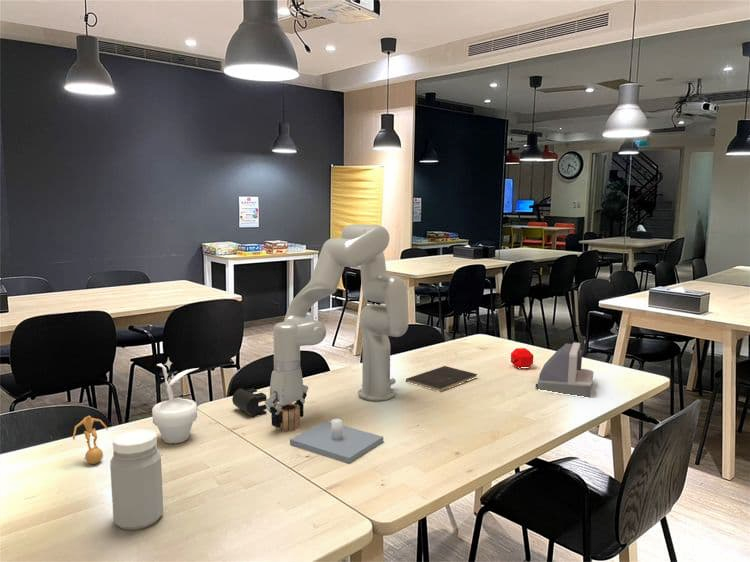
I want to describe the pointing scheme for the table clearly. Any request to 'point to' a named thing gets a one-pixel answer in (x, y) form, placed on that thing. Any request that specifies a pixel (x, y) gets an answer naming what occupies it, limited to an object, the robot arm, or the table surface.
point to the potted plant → (174, 412)
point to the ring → (289, 417)
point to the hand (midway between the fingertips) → (287, 421)
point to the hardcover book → (441, 378)
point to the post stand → (337, 441)
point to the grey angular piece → (566, 372)
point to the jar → (136, 479)
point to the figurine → (94, 453)
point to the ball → (522, 357)
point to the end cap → (249, 401)
